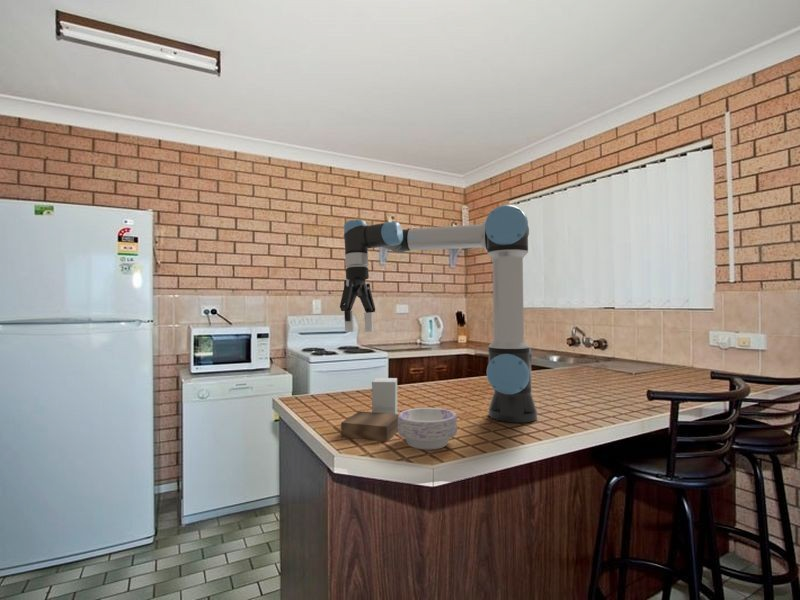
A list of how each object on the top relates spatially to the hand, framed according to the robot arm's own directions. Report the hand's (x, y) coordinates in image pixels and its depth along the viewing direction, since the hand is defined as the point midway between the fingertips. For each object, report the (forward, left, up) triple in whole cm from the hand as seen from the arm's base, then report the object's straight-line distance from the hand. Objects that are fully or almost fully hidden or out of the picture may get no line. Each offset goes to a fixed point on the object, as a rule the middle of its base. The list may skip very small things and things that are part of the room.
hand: (359, 331), depth 139 cm
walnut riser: (-11, +17, -27) cm, 34 cm away
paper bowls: (-28, +22, -27) cm, 45 cm away
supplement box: (-10, +3, -27) cm, 29 cm away
